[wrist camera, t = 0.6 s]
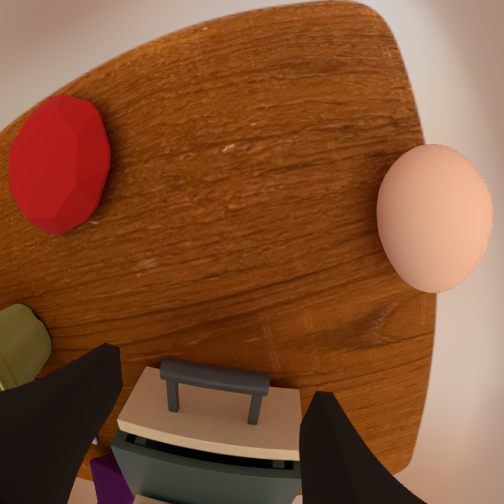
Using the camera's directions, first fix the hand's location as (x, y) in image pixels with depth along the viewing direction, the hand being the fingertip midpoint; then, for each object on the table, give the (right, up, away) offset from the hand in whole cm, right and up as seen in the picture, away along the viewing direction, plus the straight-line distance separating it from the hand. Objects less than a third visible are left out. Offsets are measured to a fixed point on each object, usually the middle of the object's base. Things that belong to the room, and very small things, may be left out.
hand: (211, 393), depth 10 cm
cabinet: (-2, -12, +14) cm, 19 cm away
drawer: (-1, -8, +12) cm, 14 cm away
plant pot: (-20, -2, +12) cm, 23 cm away
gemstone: (-11, +11, +7) cm, 17 cm away
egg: (+11, +11, +2) cm, 15 cm away
